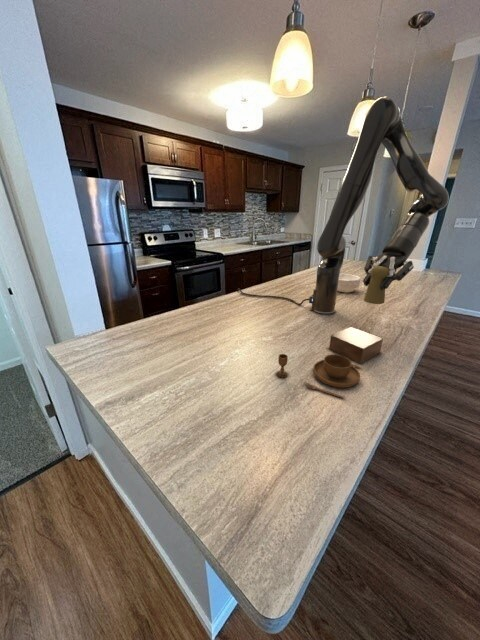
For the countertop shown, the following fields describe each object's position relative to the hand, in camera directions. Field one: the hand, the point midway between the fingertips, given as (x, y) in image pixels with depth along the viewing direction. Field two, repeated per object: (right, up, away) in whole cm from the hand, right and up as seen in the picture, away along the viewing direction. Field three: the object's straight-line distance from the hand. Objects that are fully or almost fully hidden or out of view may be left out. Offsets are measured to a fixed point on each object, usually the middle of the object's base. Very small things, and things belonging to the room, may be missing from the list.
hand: (373, 286), depth 81 cm
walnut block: (-5, -20, +3) cm, 21 cm away
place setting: (-19, -25, -8) cm, 33 cm away
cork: (+2, -4, +3) cm, 6 cm away
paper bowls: (+18, +6, +67) cm, 70 cm away
